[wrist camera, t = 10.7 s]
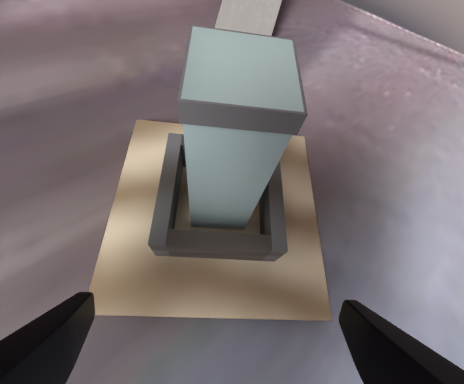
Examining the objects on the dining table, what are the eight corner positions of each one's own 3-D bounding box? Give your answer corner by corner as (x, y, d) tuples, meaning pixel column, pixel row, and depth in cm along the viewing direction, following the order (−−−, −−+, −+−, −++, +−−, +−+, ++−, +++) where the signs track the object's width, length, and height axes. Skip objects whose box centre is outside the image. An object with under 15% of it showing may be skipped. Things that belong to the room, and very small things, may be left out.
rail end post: (245, 231, 18) (307, 114, 8) (189, 227, 18) (177, 100, 7) (244, 183, 20) (294, 39, 10) (194, 179, 20) (190, 24, 9)
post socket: (325, 320, 17) (357, 321, 14) (88, 314, 16) (56, 313, 12) (300, 143, 25) (317, 113, 21) (138, 127, 23) (128, 92, 19)
